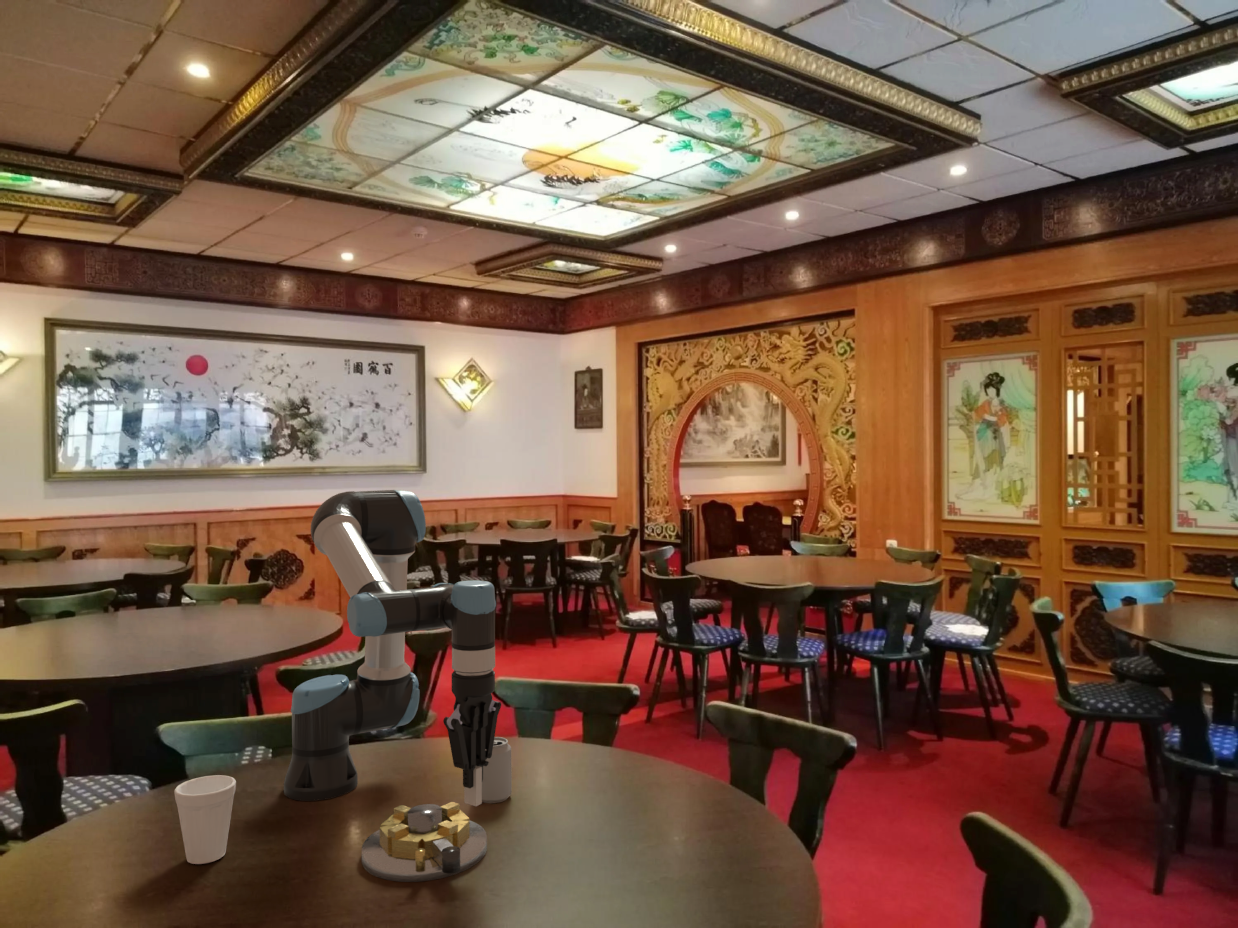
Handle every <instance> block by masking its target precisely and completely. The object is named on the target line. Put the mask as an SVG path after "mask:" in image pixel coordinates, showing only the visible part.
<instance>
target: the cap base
mask: <svg viewBox="0 0 1238 928" xmlns="http://www.w3.org/2000/svg"><path fill="white" fill-rule="evenodd" d="M410 808H411V809H409V811H408V826H409V833H415V834H426V833H431V832H435V831H438V824H439V823H441V822H442V808H441V807H440V805H438V804H434V803H424V804H418V805H416V806H412V807H410ZM469 826H470V835H469V839H468V840H467V841H466V842H465V843H464V844H463V845H462V846H461V847H460V870H459V871H458V872H456V873H452V874H447V873H444V872H442V868H441V867H440V866H439V864H438V863H437V862H436V861H435V860H434V859H433V857H431V858H427V859H425V849H423V848H419V849H417V850H416V851H415V859H409V858H400V857H392V854H389V855H387V853H386V852H385V851H384V849H383V848H382V847H381V845H380V829H378V830H376V831H374V832H373V833H372V834H370V835H368V837H367V838H366V839H364V841H363V843H362V845H361V864H362V865H361V866H362V867H363V868H364V870H365V871H366V872H367V873H369V874H370V875H372V876H374V877H376V878H379V879H382V880H387V881H393V882H403V883H413V882H414V883H416V882H417V883H420V882H427V881H433V880H434V881H436V880H440V879H443V878H447V877H452V876H453V875H457V874H459V873H462V872H464V871H466V870H468V869H471V868H472V867H474V866H475V865H477V864H478V863H479V862H480V861H481V860H482V859H483V858H484V856H485V855H486V853H487V850H488V836H487V835H488V834H487V831H486V830H485V829H484V828H483V826H481V825H480V824H478V823H477V822H476V821H472V820H470V819H469Z"/></svg>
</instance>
